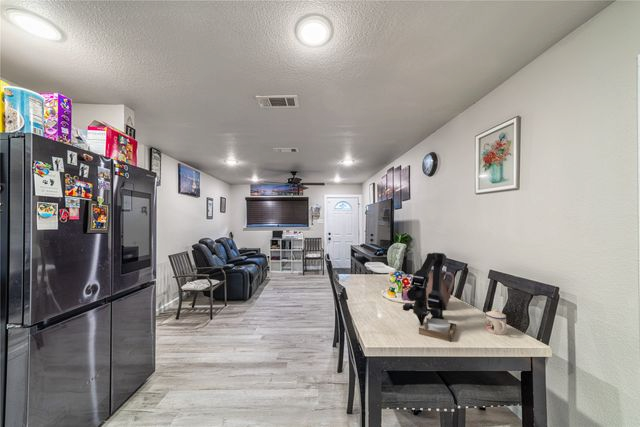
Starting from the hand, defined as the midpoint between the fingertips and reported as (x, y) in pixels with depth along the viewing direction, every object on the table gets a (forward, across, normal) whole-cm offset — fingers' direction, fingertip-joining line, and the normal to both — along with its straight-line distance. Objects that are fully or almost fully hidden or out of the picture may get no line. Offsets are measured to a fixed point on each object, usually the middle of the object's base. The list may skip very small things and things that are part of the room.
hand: (421, 325), depth 140 cm
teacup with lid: (+2, +34, +16) cm, 38 cm away
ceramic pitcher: (+2, +1, +42) cm, 42 cm away
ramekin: (+2, +9, 0) cm, 9 cm away
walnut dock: (+2, +8, 0) cm, 8 cm away
